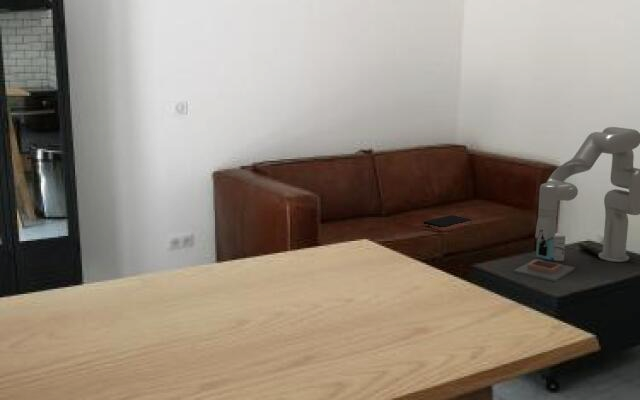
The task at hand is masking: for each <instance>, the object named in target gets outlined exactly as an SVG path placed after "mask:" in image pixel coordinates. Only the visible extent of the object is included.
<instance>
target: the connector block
mask: <svg viewBox="0 0 640 400" xmlns="http://www.w3.org/2000/svg"><path fill="white" fill-rule="evenodd" d="M542 239H544V238H542ZM537 241H538V239H536V249H535V250H536V251H535V257H539V258H542V259H543V258H547V259H550V258H552V257H553V255H554V241H555V239H553V238H550V239H548V240H547V243H546V247H547V254H546V256H542V255H539V243H538V242H537ZM543 242H544V241H543Z"/></svg>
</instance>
